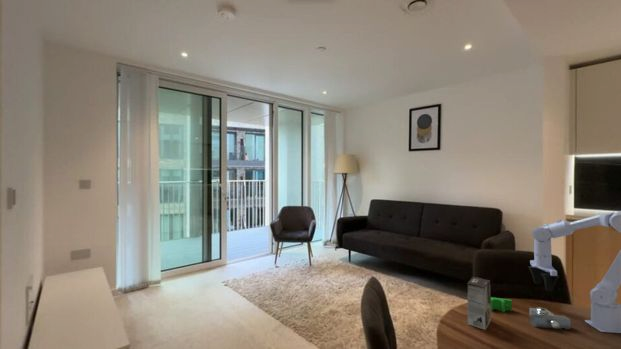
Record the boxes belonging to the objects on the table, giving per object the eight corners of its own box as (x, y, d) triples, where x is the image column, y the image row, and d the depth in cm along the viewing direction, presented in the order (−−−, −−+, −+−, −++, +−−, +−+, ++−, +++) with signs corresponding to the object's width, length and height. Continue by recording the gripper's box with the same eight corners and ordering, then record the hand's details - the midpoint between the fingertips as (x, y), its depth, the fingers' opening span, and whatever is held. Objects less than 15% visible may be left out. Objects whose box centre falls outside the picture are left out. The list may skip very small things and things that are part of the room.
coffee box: (473, 315, 119) (472, 276, 119) (491, 321, 114) (491, 279, 114) (467, 324, 112) (466, 282, 112) (486, 330, 108) (485, 286, 108)
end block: (565, 325, 110) (565, 315, 110) (574, 331, 106) (574, 322, 106) (530, 323, 112) (530, 314, 112) (537, 329, 108) (537, 320, 108)
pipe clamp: (482, 310, 124) (482, 299, 124) (481, 306, 127) (480, 295, 127) (513, 314, 120) (513, 303, 120) (511, 310, 123) (511, 299, 123)
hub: (546, 317, 117) (545, 305, 117) (556, 325, 111) (555, 313, 111) (529, 316, 118) (529, 305, 118) (538, 324, 112) (538, 312, 112)
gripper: (522, 250, 131) (523, 280, 131) (543, 259, 117) (543, 293, 117) (540, 250, 130) (540, 281, 130) (562, 260, 115) (563, 294, 116)
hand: (543, 287), depth 123 cm, fingers open, 7 cm apart
